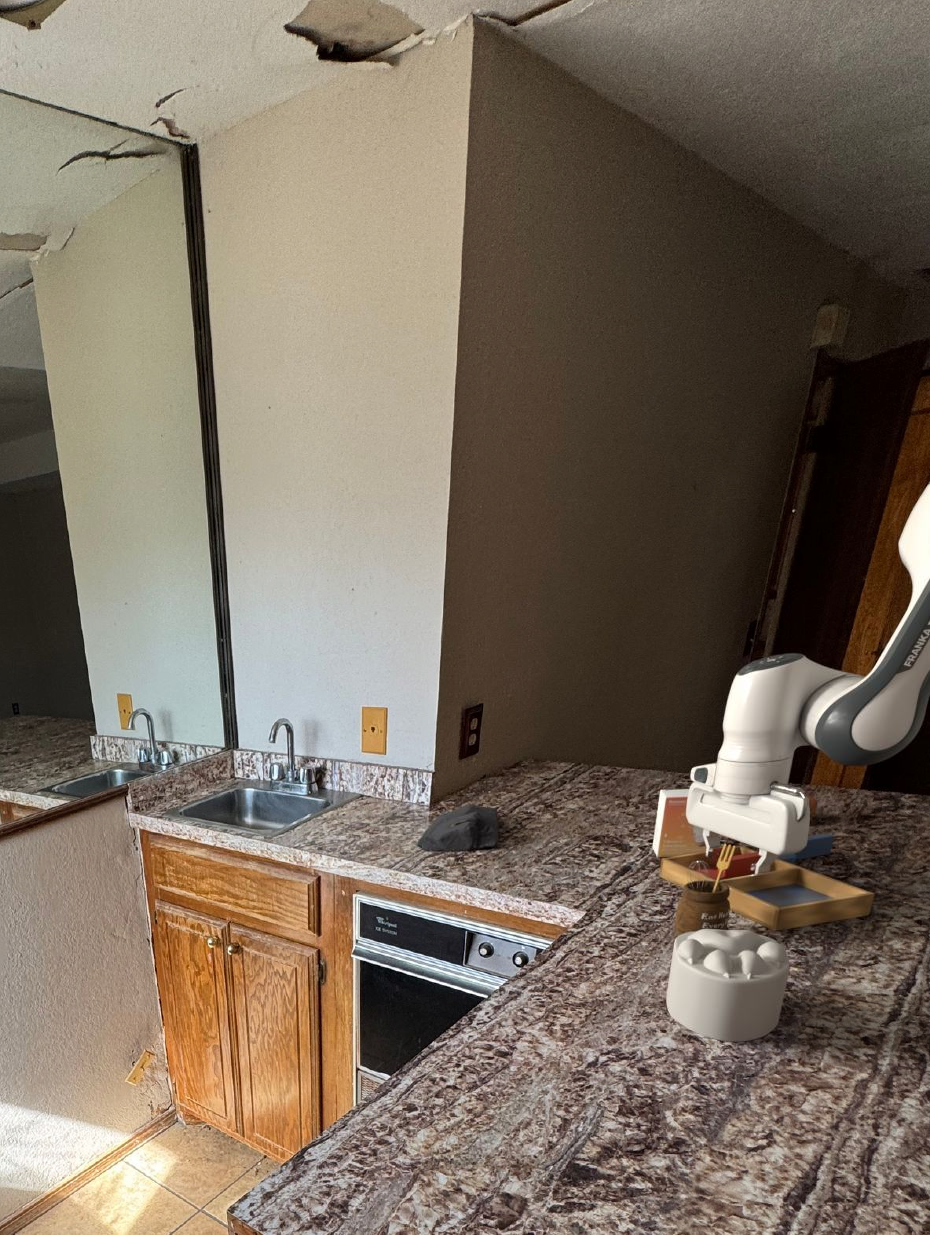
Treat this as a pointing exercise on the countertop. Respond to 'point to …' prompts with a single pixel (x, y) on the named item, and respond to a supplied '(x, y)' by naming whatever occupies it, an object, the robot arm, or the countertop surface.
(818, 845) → the blue l-shaped block
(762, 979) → the lumpy-topped squat cylinder
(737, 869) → the red angular block
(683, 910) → the utensil holder
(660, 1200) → the countertop surface
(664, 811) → the small box
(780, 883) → the cutlery tray
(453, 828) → the dark slate chunk
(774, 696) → the robot arm
